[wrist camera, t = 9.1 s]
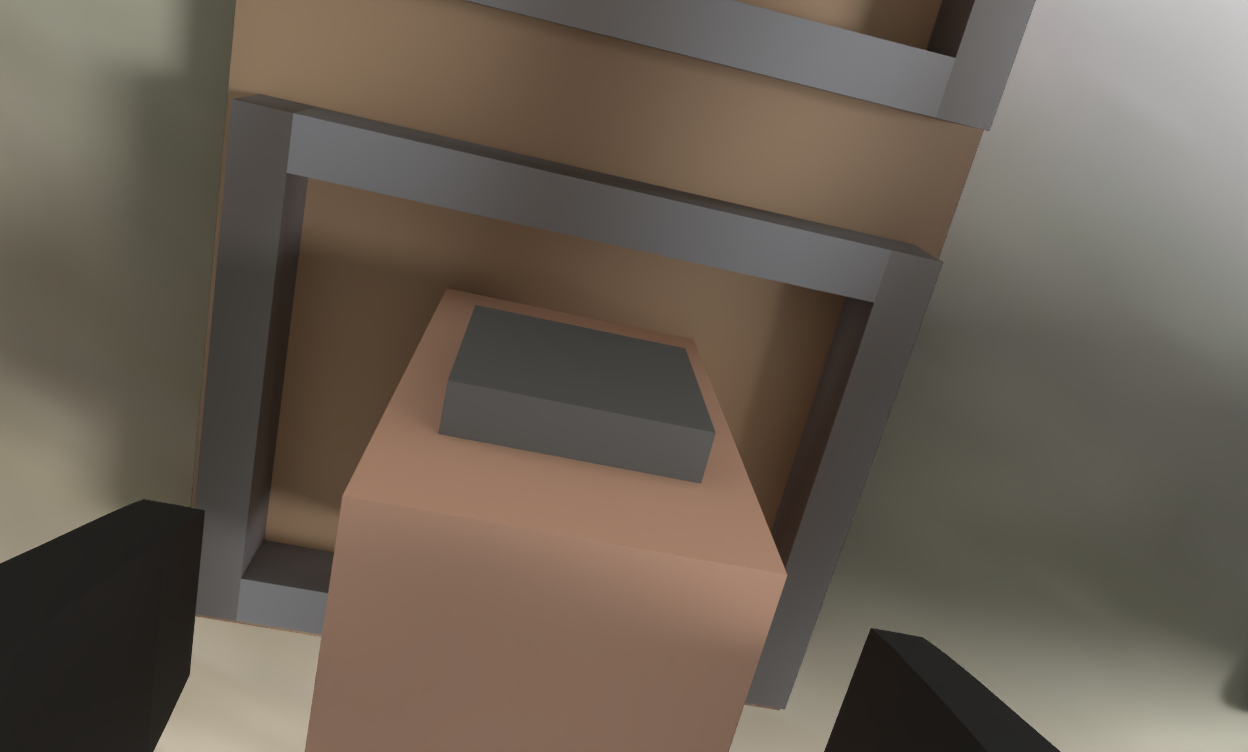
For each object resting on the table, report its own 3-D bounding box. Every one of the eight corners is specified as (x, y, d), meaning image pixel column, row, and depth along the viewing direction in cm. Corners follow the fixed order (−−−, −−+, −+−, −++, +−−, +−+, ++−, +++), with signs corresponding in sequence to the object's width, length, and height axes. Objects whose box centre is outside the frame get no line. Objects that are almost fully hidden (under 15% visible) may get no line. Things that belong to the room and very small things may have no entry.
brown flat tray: (1196, -574, 12) (1496, -867, 8) (769, 675, 19) (821, 848, 15) (345, -883, 11) (213, -1414, 7) (202, 582, 17) (92, 744, 13)
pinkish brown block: (703, 304, 15) (806, 518, 8) (631, 571, 16) (670, 928, 10) (453, 251, 14) (351, 433, 8) (404, 532, 16) (286, 878, 9)
